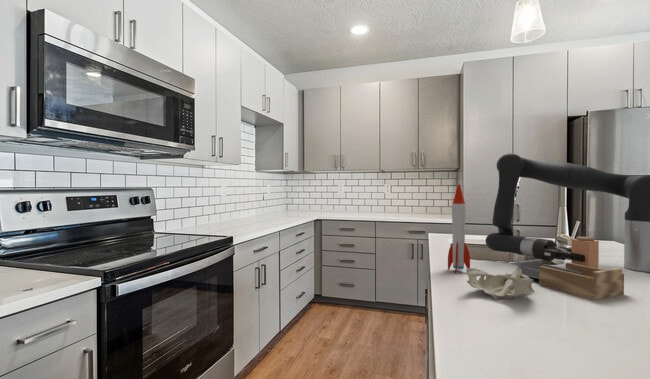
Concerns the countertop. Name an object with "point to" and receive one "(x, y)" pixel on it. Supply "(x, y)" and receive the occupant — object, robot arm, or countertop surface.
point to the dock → (584, 281)
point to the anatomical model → (501, 283)
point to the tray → (532, 268)
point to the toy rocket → (458, 234)
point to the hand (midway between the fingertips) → (589, 257)
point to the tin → (586, 251)
